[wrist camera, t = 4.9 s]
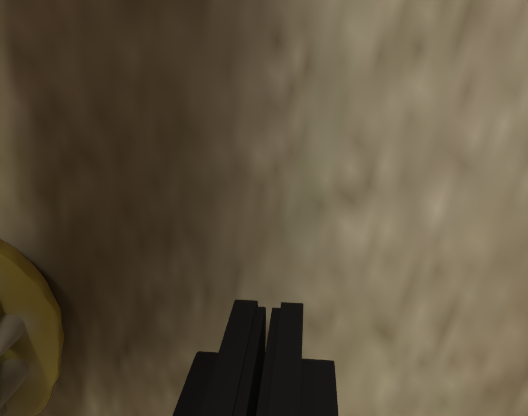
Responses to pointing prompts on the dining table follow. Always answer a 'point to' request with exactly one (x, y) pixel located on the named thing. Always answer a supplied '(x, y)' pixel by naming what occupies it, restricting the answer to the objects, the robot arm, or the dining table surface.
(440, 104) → the dining table surface
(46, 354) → the hamburger
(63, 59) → the dining table surface
